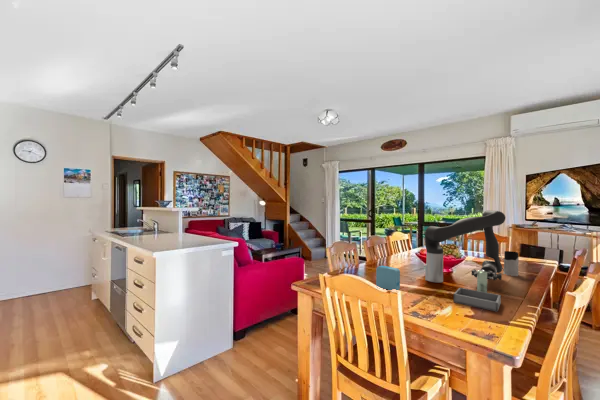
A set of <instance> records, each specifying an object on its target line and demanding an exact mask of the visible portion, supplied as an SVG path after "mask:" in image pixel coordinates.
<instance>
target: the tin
mask: <svg viewBox="0 0 600 400" xmlns="http://www.w3.org/2000/svg"><path fill="white" fill-rule="evenodd" d="M476 271H477V277H476V291H481V292H486V293H488V279H487V272H485V271H479V270H476Z"/></svg>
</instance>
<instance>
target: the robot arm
mask: <svg viewBox="0 0 600 400" xmlns="http://www.w3.org/2000/svg"><path fill="white" fill-rule="evenodd" d="M505 221H506V215H505V214H504V213H503V212H502V211H500V210H492V209H491V210H485V211H484V212H483V213H482V215H481V216H471V217H465V218H462V219H459V220H456V221H455V222H454V223H452V224H451V225H448V226H441V227H440V226H434V225H430V226H428V227H427V228H426V229H425V232H424V243H425V244H424V245H425V248H426V249H425V250H426V263H425V264H424V265H425V268H424V269H425V272H424V273H425V275H424V279H425V280H424V281H428V282H429V283H443V282H444V248H443V247H442V246H441V245H440V243H442V242H445V241H447V240H450V239H452V238H455V237H460V236H462V235H467V234H471V233H474V232H477V231H481V230H482V229H483V233H484V239H485V256H486V257H488V258H490V259H493V260H484V261H483V262H482V264H481V266H482V267H481V268H480V270H477V269H472V270H471V276H472V277H473V276H474V277H475V278H477V271H485V272H487V280H493V281H496V280H500V281H501V280H502V276H503V273H502V271H503V269H502V268H503V266H502V263H501V260H500V259H501V258H500V254H499V253H500V246H499V245H500V244H499V241H498V239H497V237H496V234H495V231H494V227H497V226H501V225H503V224H504V223H505ZM494 260H495V261H494Z"/></svg>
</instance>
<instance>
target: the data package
mask: <svg viewBox="0 0 600 400" xmlns="http://www.w3.org/2000/svg"><path fill="white" fill-rule="evenodd" d="M375 270H376V271H375V272H376V275H375V277H376V278H375V279H376V280H375V281H376V282H375V284H376V285H377V286H379V287H381V288H384V289H388V290H392V289H396V290H398V291H399V290H400V288H401V270H400V269H399V268H397V267H392V266H388V265H387V266H386V265H378V266H377V267H376V269H375ZM377 286H376V287H377ZM384 289H383V290H384ZM388 290H387V291H388Z"/></svg>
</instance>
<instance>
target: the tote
mask: <svg viewBox="0 0 600 400" xmlns="http://www.w3.org/2000/svg"><path fill="white" fill-rule="evenodd" d="M501 296H502V295H501V294H496V293H492V292H487V293H486V292H481V291H477V289H476V290H475V289H470V288H464V287H459V288H457V289H456V291H455V292H454V293H453V303H456V304H459V305H465V306H469V307H474V308H477V309H483V310H487V311H491V312H496V313H498V312H499V309H500V306H501V303H502V302H501V301H502V299H501V298H502V297H501Z"/></svg>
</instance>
